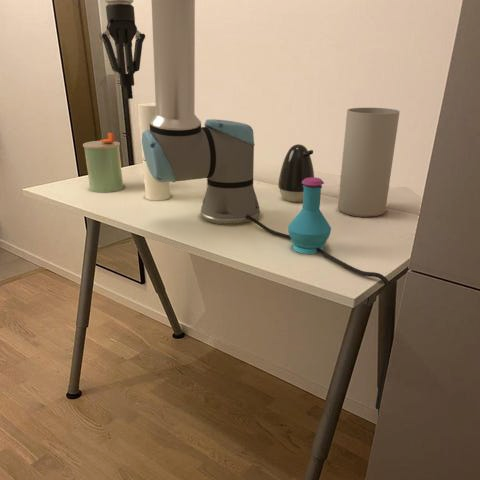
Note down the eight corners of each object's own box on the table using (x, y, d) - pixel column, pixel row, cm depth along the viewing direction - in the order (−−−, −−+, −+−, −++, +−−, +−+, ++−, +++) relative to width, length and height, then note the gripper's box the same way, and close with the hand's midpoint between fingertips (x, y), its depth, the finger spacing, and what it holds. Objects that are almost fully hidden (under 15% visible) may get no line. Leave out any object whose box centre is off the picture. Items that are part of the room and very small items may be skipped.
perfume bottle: (325, 240, 115) (331, 174, 108) (332, 255, 107) (339, 184, 100) (284, 241, 115) (288, 174, 107) (289, 256, 107) (293, 185, 99)
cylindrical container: (168, 200, 144) (162, 105, 132) (143, 200, 144) (135, 105, 132) (172, 193, 150) (166, 103, 138) (148, 193, 150) (140, 102, 138)
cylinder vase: (365, 202, 143) (377, 106, 131) (395, 214, 133) (410, 112, 121) (328, 207, 138) (337, 109, 126) (356, 220, 128) (368, 114, 116)
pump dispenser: (296, 206, 138) (299, 149, 131) (270, 198, 145) (272, 143, 138) (321, 200, 144) (325, 144, 137) (295, 193, 151) (298, 139, 144)
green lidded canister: (129, 189, 155) (124, 144, 148) (95, 194, 150) (89, 147, 143) (117, 182, 163) (112, 139, 156) (84, 186, 158) (78, 142, 151)
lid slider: (115, 142, 150) (114, 134, 149) (104, 143, 148) (103, 135, 147) (110, 140, 153) (109, 132, 152) (100, 141, 151) (99, 133, 150)
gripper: (136, 5, 143) (144, 96, 155) (91, 4, 137) (102, 98, 149) (147, 4, 138) (154, 98, 149) (101, 2, 132) (112, 100, 143)
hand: (128, 98), depth 149 cm, fingers closed
